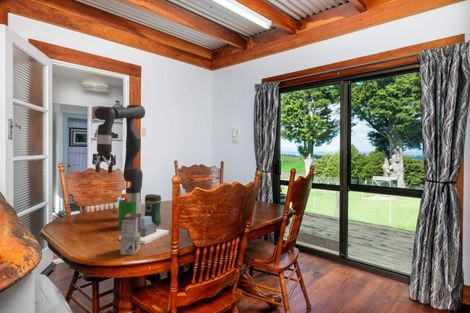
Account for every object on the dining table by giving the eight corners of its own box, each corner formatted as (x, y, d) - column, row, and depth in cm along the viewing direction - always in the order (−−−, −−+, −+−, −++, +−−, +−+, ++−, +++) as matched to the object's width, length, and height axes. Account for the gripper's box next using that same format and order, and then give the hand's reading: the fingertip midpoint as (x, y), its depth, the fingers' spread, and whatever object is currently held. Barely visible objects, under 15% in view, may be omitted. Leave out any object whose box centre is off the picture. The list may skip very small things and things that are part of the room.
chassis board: (144, 229, 156) (144, 220, 156) (168, 233, 151) (168, 223, 151) (118, 239, 137) (119, 228, 137) (145, 244, 132) (145, 232, 132)
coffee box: (126, 247, 127) (127, 212, 127) (140, 247, 127) (141, 213, 127) (119, 254, 118) (120, 217, 118) (135, 254, 118) (136, 217, 118)
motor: (138, 226, 162) (139, 193, 162) (128, 230, 154) (129, 195, 153) (124, 224, 165) (125, 191, 165) (113, 228, 157) (114, 193, 157)
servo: (148, 230, 149) (148, 215, 149) (153, 231, 148) (154, 215, 148) (135, 235, 140) (136, 219, 140) (141, 236, 139) (141, 219, 139)
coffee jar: (162, 224, 169) (163, 194, 169) (153, 227, 162) (154, 196, 162) (151, 222, 173) (151, 192, 173) (141, 224, 166) (142, 194, 166)
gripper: (119, 144, 152) (119, 173, 153) (99, 143, 157) (99, 171, 157) (109, 143, 145) (108, 173, 146) (88, 143, 150) (88, 172, 150)
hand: (103, 172), depth 151 cm, fingers open, 8 cm apart
